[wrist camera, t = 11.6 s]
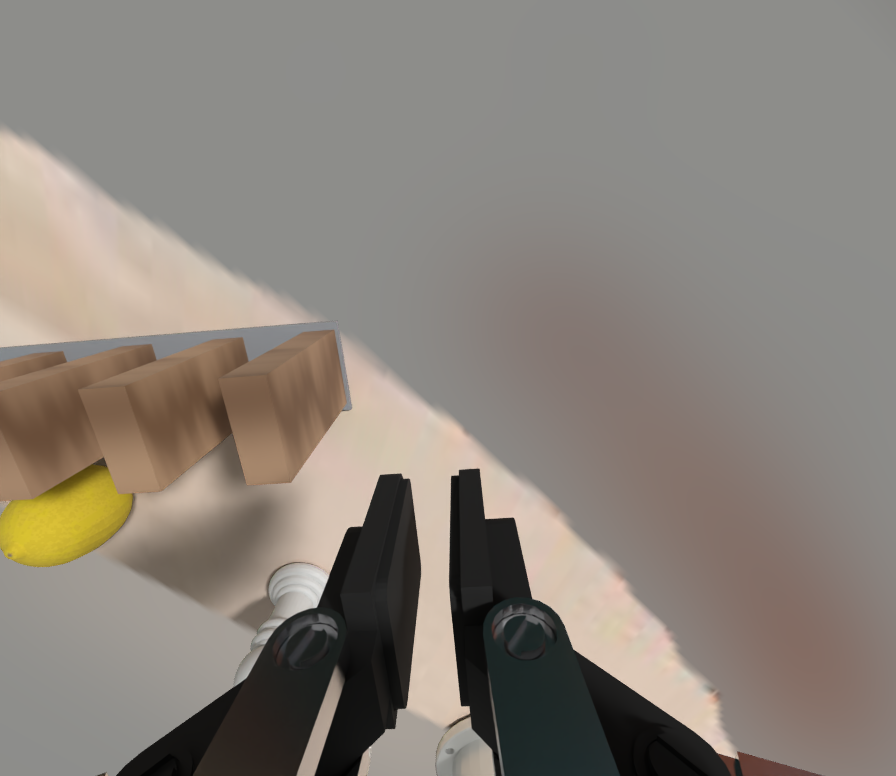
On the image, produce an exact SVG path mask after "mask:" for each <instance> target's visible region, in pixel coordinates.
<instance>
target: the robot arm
mask: <svg viewBox="0 0 896 776" xmlns="http://www.w3.org/2000/svg"><path fill="white" fill-rule="evenodd" d="M420 579H421V561H420V553H419V545H418V537H417V529H416V521H415V513H414V506H413V498H412V490H411V482H410V479H403V477H402V474H387V475H380V477H379V479H378V482H377V485H376V488H375V491H374V494H373V497H372V500H371V503H370V506H369V509H368V512H367V515H366V518H365V521H364V524H363V526H362V527H350V528H348V530H347V532H346V534H345V536H344V539H343V541H342V544H341V547H340V549H339V552H338V554H337V557H336V560H335V562H334V565H333V567H332V570H331V572H330V575H329V578H328V580H327V583H326V585H325V588H324V591H323V593H322V596H321V598H320V601H319V604H318V606H317V608H310V609H307V610H304V611H301V612H298V613H296V614H295V615H293V616H291V617H290V618H288V619H286V620H285V621H284V622H283V623H282V624H281V625H279V626H278V627H277V628H276V629H275V630H274V632H273V633H272V635H271V636H270V637H269V639H268V640H267V642H266V644H265V646H264V648H263V649H262V651H261V653H260V655H259V657H258V658H257V660H256V662H255V664H254V666H253V667H252V669H251V671H250V673H249V675H248V677H247V678H246V679H245V680H243V681H242V682H240V683H239V684H237V685H236V686H235V687H233V688H232V689H230V690H229V691H228V692H226V693H225V694H224V695H222V696H221V697H219V698H218V699H216V700H215V701H213V702H212V703H211V704H209V705H208V706H206V707H205V708H203V709H202V710H201V711H199V712H198V713H196V714H195V715H193V716H192V717H191V718H189V719H188V720H186V721H185V722H184V723H182V724H181V725H179V726H178V727H176V728H175V729H174V730H172V731H171V732H169V733H168V734H167V735H165V736H164V737H162V738H161V739H159V740H158V741H157V742H155V743H154V744H152V745H151V746H150V747H148V748H147V749H145V750H144V751H143V752H141V753H140V754H139V755H138V756H136V757H135V758H134V759H133V760H131V761H130V762H129V763H128V764H127V765H125V767H124V768H123V769H122V770H121V771H120V772H119V773H118V774H117V775H116V776H367V773H368V769H369V765H370V760H371V745H372V744H373V743H374V742H375V741H376V740H377V739H378V738H379V737H380V736H381V735H382V734H383V733H384V732H385V729H395V725H396V718H397V710H398V709H406V706H407V701H408V692H409V682H410V673H411V664H412V654H413V645H414V635H415V626H416V617H417V607H418V598H419V588H420ZM449 588H450V603H451V613H452V623H453V632H454V642H455V652H456V662H457V671H458V681H459V691H460V701H461V706H470V716H471V717H469V718H467V719H464V720H462V721H460V722H459V723H457V724H456V725H454V726H453V727H452V728H450V729H449V730H448V731H447V732H446V734H445V735H444V736H443V737H442V739H441V741H440V742H439V744H438V748H437V751H436V773H437V776H823V775H820V774H816V773H813V772H809V771H806V770H802V769H798V768H795V767H792V766H788V765H785V764H781V763H778V762H774V761H771V760H767V759H764V758H760V757H756V756H753V755H749V754H746V753H742V752H739V751H737V752H736V757H735V758H732V757H728V756H725V755H722V754H718V753H716V752H715V750H714V749H713V748H712V747H711V745H709V744H708V743H707V742H706V741H705V740H703V739H702V738H701V737H700V736H699V735H697V734H696V733H695V732H694V731H692V730H691V729H689V728H688V727H686V726H685V725H683V724H682V723H680V722H679V721H677V720H676V719H675V718H673V717H672V716H670V715H669V714H667V713H666V712H664V711H663V710H661V709H660V708H658V707H657V706H655V705H654V704H653V703H651V702H650V701H648V700H647V699H645V698H644V697H642V696H641V695H639V694H638V693H636V692H635V691H634V690H632V689H631V688H629V687H628V686H626V685H625V684H623V683H622V682H620V681H619V680H617V679H616V678H614V677H613V676H612V675H610V674H609V673H607V672H606V671H604V670H603V669H601V668H600V667H598V666H597V665H595V664H594V663H592V662H591V661H590V660H588V659H587V658H585V657H584V656H582V655H581V654H579V653H578V652H576V651H575V650H573V647H572V645H571V642H570V639H569V636H568V634H567V631H566V628H565V626H564V624H563V622H562V620H561V619H560V617H559V615H558V614H557V613H556V612H555V611H554V610H553V609H552V608H551V607H549V606H548V605H546V604H544V603H542V602H540V601H538V600H534V599H532V596H531V591H530V587H529V582H528V578H527V573H526V569H525V564H524V559H523V555H522V550H521V546H520V541H519V537H518V532H517V527H516V523H515V519H514V518H499V519H485V515H484V506H483V497H482V487H481V478H480V469H465V470H459V475H458V476H451V511H450V563H449ZM97 776H108V774H107V772H106V773H103V774H100V775H97Z"/></svg>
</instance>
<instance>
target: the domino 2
mask: <svg viewBox="0 0 896 776" xmlns="http://www.w3.org/2000/svg"><path fill="white" fill-rule="evenodd" d="M247 362H249V361H248V357H247V353H246V348H245V344H244V340H243V337H238V338H226V339H213V340H210V341H207V342H205V343H202V344H199V345H197V346H194V347H191V348H188V349H186V350H183V351H180V352H178V353H175V354H172V355H170V356H167V357H164V358H162V359H159V360H156V361H154V362H151V363H148V364H146V365H143V366H140V367H137V368H135V369H132V370H129V371H127V372H124V373H121V374H119V375H116V376H113V377H111V378H108V379H105V380H103V381H100V382H97V383H95V384H92V385H89V386H87V387H84V388H81V389H78V392H79V394H80V397H81V399H82V402H83V405H84V407H85V410H86V412H87V415H88V417H89V420H90V423H91V425H92V428H93V430H94V433H95V436H96V438H97V441H98V443H99V446H100V448H101V451H102V454H103V456H104V459H105V461H106V464H107V467H108V469H109V472H110V474H111V477H112V479H113V482H114V485H115V487H116V490H117V492H118V494H129V493H144V492H160V491H162V490H163V489H165V488H166V487H167V486H168V485H169V484H171V483H172V482H173V481H174V480H175V479H177V478H178V477H179V476H180V475H182V474H183V473H184V472H185V471H186V470H188V469H189V468H190V467H191V466H192V465H194V464H195V463H196V462H197V461H199V460H200V459H201V458H202V457H203V456H205V455H206V454H207V453H208V452H209V451H211V450H212V449H213V448H214V447H216V446H217V445H218V444H219V443H220V442H222V441H223V440H224V439H225V438H227V437H228V436H229V435H230V434H231V433H233V432H232V429H231V425H230V421H229V418H228V414H227V410H226V406H225V403H224V399H223V395H222V392H221V388H220V384H219V381H218V378H220V377H222V376H224V375H225V374H227V373H229V372H231V371H233V370H235V369H236V368H238V367H240V366H242V365H244V364H246V363H247Z"/></svg>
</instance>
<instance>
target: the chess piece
mask: <svg viewBox="0 0 896 776" xmlns="http://www.w3.org/2000/svg"><path fill="white" fill-rule="evenodd" d="M328 578H329V574H328V573H327V572H325V571H324V570H322V569H321V568H319V567H317V566H314V565H312V564H307V563H293V564H289V565H286V566H284V567H282V568H280V569H279V570H278V571H277V572H276V573H275V574H274V575H273V576H272V578H271V580H270V584H269V597H270V599H271V601H272V603H273V605H274V606H275V608H274V610H273V612H272V614H271V616H270V618H269V620H267V621H266V622H264V623H263V624H262V625H261V626H260V627H259V629H258V631H257V635H256V636H255V638H254V639H253V640H252V643H251V652H250V653H249V654H248V655H247V656H246V657H245V658H244V659H243V660H242V662H241V664H240V665H239V667H238V669H237V672H236V675H235V678H234V687H235V686H236V685H237V684H239V683H240V682H242V681H243V680H245V679H246V678H247V677H248V675H249V673H250V671H251V669H252V667H253V666H254V664H255V662H256V660H257V658H258V657H259V655H260V653H261V651H262V649H263V648H264V646H265V644H266V642H267V640H268V639H269V637H270V636H271V635H272V633H273V632H274V630H275V629H276V628H277V627H278V626H279V625H281V624H282V623H283V622H284V621H285V620H286V619H288V618H290V617H291V616H293V615H295V614H296V613H298V612H301V611H304V610H307V609H310V608H317V606H318V604H319V601H320V598H321V596H322V593H323V591H324V588H325V585H326V583H327V580H328Z"/></svg>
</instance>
